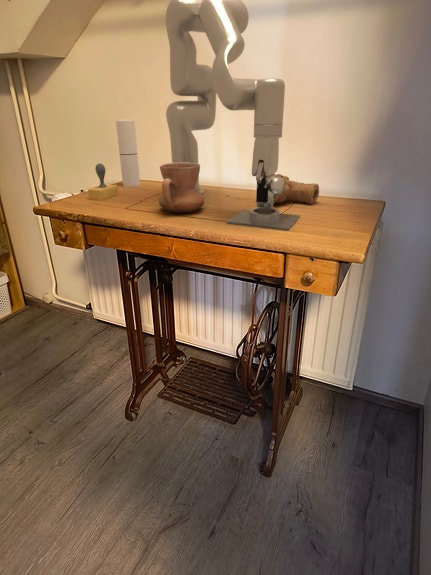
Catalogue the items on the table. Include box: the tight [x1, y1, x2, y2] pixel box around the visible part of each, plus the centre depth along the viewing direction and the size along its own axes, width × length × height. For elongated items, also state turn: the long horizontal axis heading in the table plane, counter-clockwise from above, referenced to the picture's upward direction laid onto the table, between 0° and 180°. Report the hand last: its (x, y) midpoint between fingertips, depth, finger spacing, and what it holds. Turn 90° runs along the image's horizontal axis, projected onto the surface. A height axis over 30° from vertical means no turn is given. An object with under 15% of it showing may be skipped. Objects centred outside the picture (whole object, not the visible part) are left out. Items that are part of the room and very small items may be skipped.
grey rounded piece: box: [255, 174, 284, 208], centre depth 110 cm, size 7×5×8 cm, turn 66°
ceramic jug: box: [158, 162, 205, 214], centre depth 122 cm, size 18×14×14 cm
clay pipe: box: [273, 173, 320, 205], centre depth 130 cm, size 19×11×15 cm
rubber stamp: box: [87, 162, 119, 201], centre depth 141 cm, size 10×6×12 cm, turn 154°
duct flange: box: [226, 207, 301, 231], centre depth 113 cm, size 18×14×3 cm
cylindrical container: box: [115, 119, 141, 188], centre depth 157 cm, size 7×7×25 cm
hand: (264, 199), depth 111 cm, fingers closed on grey rounded piece, 4 cm apart
